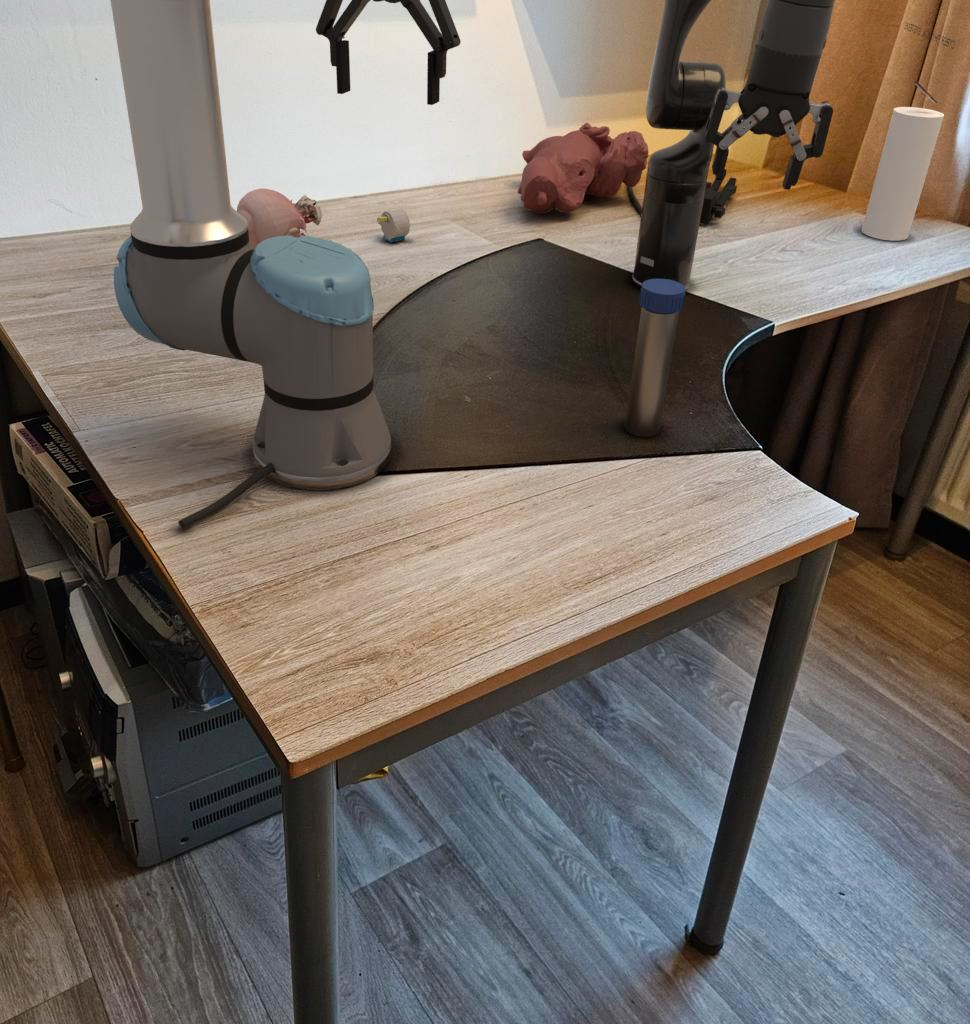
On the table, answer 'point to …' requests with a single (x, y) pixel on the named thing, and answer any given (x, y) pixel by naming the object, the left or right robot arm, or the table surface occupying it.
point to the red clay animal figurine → (580, 168)
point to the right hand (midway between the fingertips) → (751, 182)
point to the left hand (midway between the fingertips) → (388, 97)
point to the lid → (662, 296)
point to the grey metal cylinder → (650, 372)
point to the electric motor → (394, 225)
